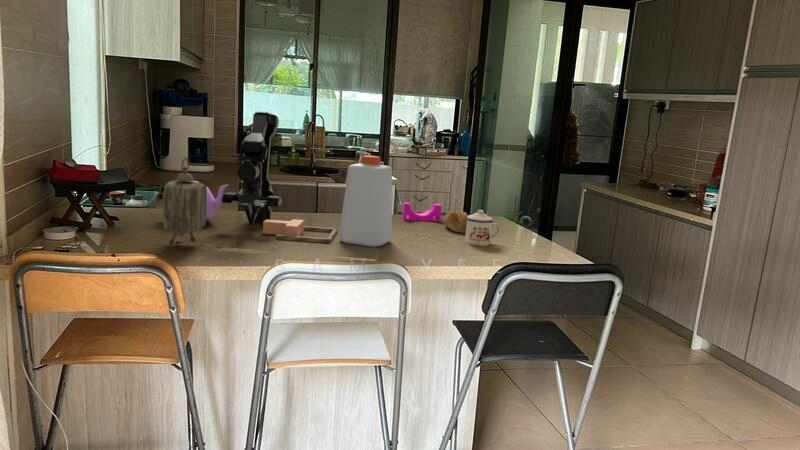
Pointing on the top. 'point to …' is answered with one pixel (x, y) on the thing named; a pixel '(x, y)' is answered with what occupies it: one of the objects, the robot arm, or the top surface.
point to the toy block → (422, 216)
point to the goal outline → (310, 239)
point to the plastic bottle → (367, 204)
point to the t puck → (283, 227)
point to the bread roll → (456, 221)
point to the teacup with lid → (479, 229)
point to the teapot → (213, 201)
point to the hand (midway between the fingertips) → (251, 225)
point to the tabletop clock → (184, 205)
